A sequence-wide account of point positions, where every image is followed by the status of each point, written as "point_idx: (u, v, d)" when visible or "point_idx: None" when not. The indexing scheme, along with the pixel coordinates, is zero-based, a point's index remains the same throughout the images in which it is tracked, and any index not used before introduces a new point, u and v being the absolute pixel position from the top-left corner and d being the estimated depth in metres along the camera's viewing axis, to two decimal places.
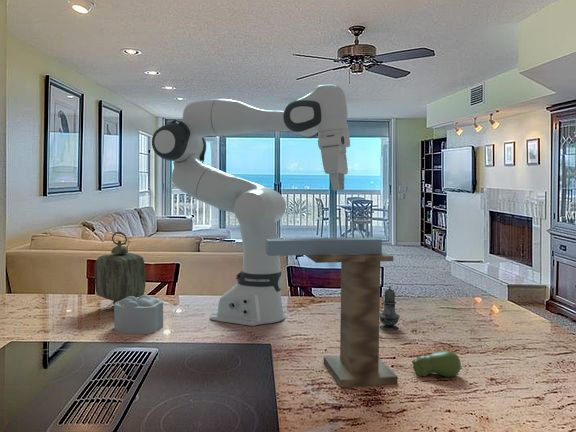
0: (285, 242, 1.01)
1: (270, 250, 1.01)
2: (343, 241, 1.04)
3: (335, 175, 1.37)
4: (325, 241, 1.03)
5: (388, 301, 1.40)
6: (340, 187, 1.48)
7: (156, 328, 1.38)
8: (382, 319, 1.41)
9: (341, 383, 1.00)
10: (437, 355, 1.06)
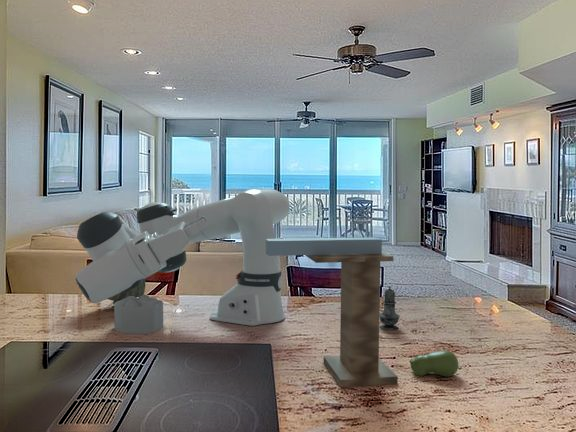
0: (285, 242, 1.01)
1: (270, 250, 1.01)
2: (343, 241, 1.04)
3: (187, 230, 1.03)
4: (325, 241, 1.03)
5: (388, 301, 1.40)
6: None
7: (156, 328, 1.38)
8: (382, 319, 1.41)
9: (341, 383, 1.00)
10: (435, 355, 1.06)
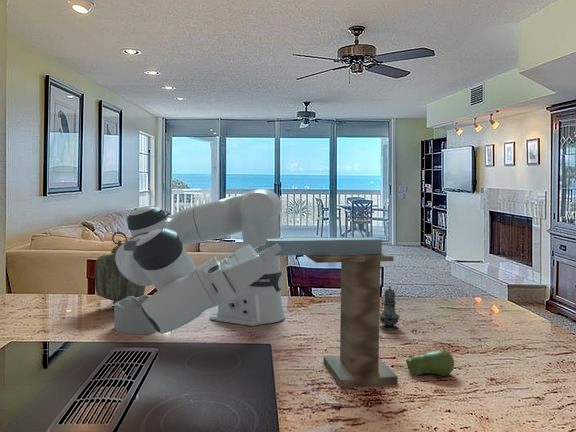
0: (285, 242, 1.01)
1: None
2: (343, 241, 1.04)
3: (262, 255, 0.98)
4: (325, 241, 1.03)
5: (388, 301, 1.40)
6: None
7: None
8: (382, 319, 1.41)
9: (341, 383, 1.00)
10: (431, 354, 1.07)
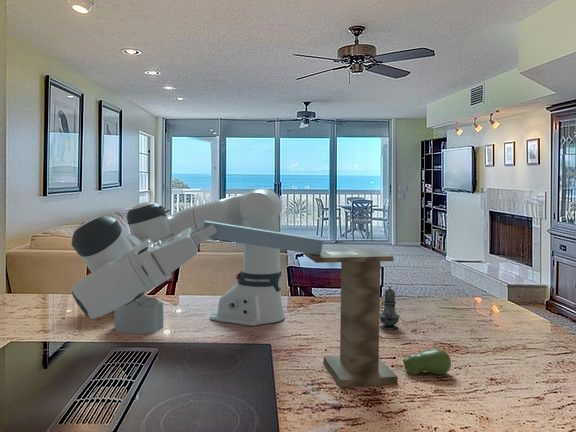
0: (222, 226, 0.98)
1: None
2: (282, 235, 1.00)
3: (195, 236, 0.95)
4: (264, 232, 1.00)
5: (388, 301, 1.40)
6: None
7: (156, 328, 1.38)
8: (382, 319, 1.41)
9: (341, 383, 1.00)
10: (428, 353, 1.07)
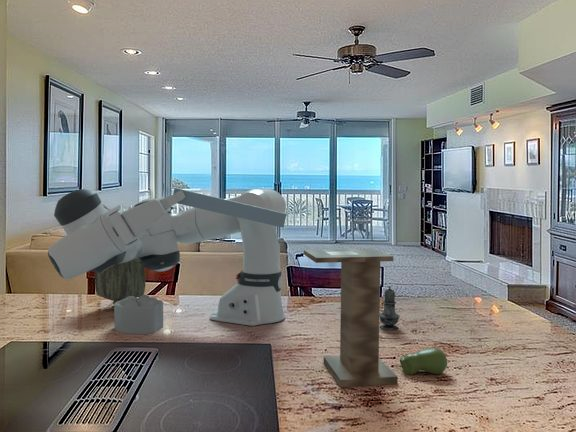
0: (191, 193, 1.03)
1: None
2: (248, 206, 1.06)
3: (164, 201, 1.00)
4: (230, 202, 1.05)
5: (388, 301, 1.40)
6: None
7: (156, 328, 1.38)
8: (382, 319, 1.41)
9: (341, 383, 1.00)
10: (424, 353, 1.07)
